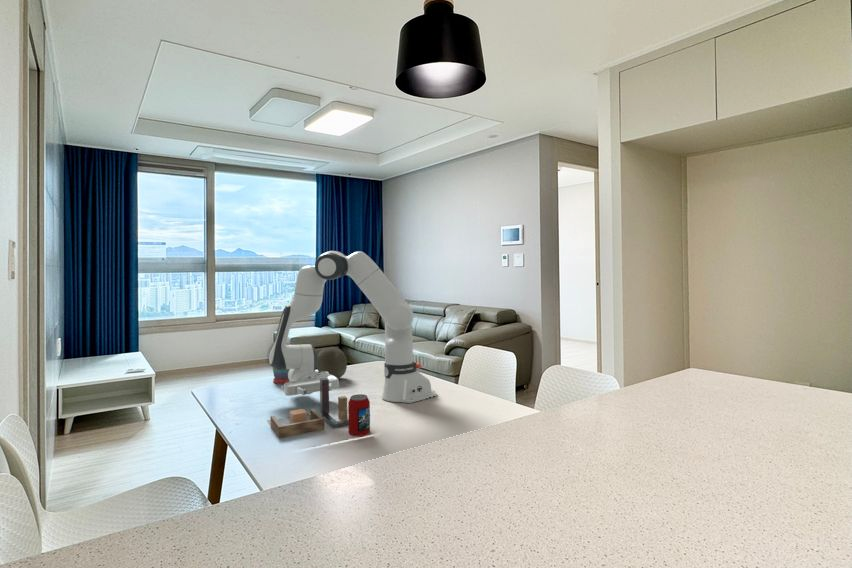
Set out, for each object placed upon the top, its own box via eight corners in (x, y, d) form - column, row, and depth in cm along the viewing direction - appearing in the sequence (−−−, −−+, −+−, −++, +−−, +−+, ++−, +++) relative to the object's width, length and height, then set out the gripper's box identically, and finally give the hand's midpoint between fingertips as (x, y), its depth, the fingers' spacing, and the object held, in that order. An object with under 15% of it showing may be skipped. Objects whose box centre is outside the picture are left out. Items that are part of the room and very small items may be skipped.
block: (303, 421, 157) (303, 408, 157) (307, 425, 153) (306, 412, 153) (289, 424, 155) (289, 410, 155) (293, 428, 151) (293, 414, 151)
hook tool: (342, 414, 166) (342, 375, 166) (356, 425, 155) (355, 384, 154) (320, 418, 162) (319, 378, 161) (332, 430, 151) (331, 387, 150)
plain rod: (345, 418, 162) (344, 395, 161) (347, 420, 160) (347, 397, 159) (338, 419, 161) (338, 397, 160) (340, 421, 159) (340, 398, 158)
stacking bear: (299, 378, 217) (298, 341, 217) (291, 384, 207) (290, 345, 207) (277, 378, 219) (276, 341, 218) (268, 384, 208) (267, 345, 208)
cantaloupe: (332, 374, 226) (332, 343, 225) (353, 378, 218) (353, 346, 217) (309, 380, 215) (309, 348, 214) (331, 385, 206) (330, 351, 206)
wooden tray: (308, 415, 166) (308, 403, 166) (324, 431, 150) (324, 418, 149) (266, 422, 159) (266, 410, 158) (279, 440, 142) (278, 427, 142)
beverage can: (366, 438, 143) (365, 400, 143) (345, 437, 145) (344, 399, 144) (372, 430, 150) (372, 394, 149) (353, 429, 151) (352, 393, 151)
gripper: (279, 377, 175) (288, 386, 163) (331, 371, 185) (343, 378, 173) (279, 394, 175) (288, 403, 164) (331, 386, 186) (343, 395, 174)
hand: (317, 390), depth 169 cm, fingers open, 8 cm apart
